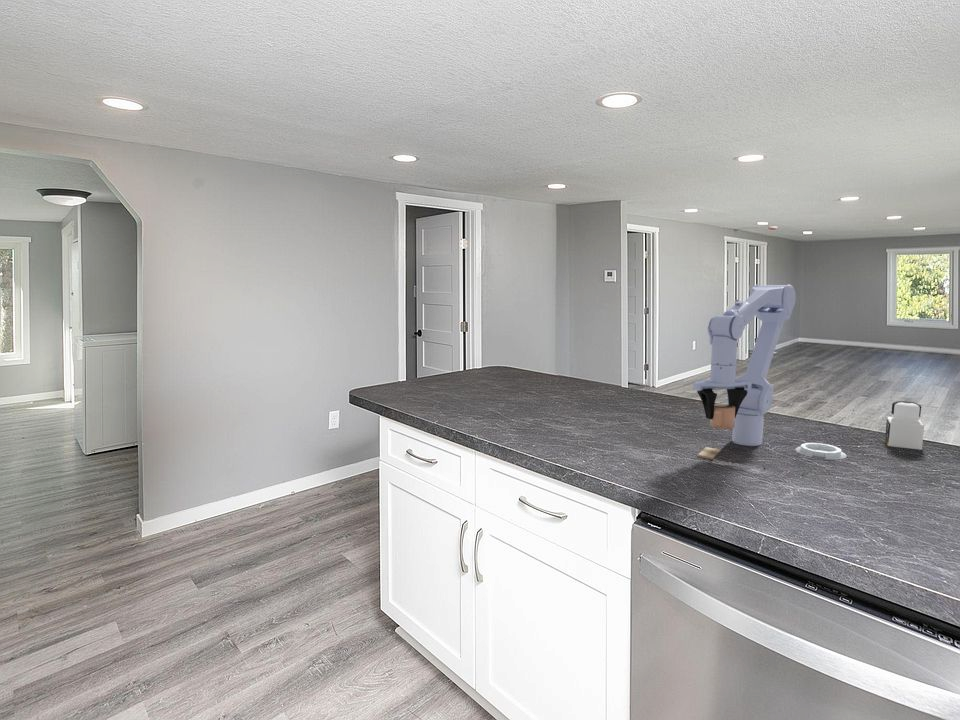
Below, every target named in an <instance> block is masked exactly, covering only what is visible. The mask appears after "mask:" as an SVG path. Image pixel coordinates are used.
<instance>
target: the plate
mask: <svg viewBox="0 0 960 720" xmlns="http://www.w3.org/2000/svg"><path fill="white" fill-rule="evenodd" d="M795 451H796V453H799V454H800V455H802V456H807V457H810V458H814V459H815V458H816V459H821V460H842V459H846V458H847V454H846V453H845V452H843V451H842V449H841V448H840V447H837V446H835V445H832V444H828V443H821V442H805V443H802V444H800V446H797V447H796V448H795Z"/></svg>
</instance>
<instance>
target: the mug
mask: <svg viewBox="0 0 960 720" xmlns="http://www.w3.org/2000/svg"><path fill="white" fill-rule="evenodd" d="M734 424H735V406H733V405H728V403H727V404H726V403H715V404H714V416H713V419H709V426H710V427H711V428H715V429H721V430H722V429H723V430H730V429H732V430H733V428H734Z"/></svg>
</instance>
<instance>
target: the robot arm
mask: <svg viewBox="0 0 960 720" xmlns="http://www.w3.org/2000/svg"><path fill="white" fill-rule="evenodd" d="M796 297H797V296H796V290H795V288H794V286H793V285H792V284H779V285H778V284H774V285H773V284H761V285H760V284H755V285H754V286H753V287H751V288H750V293H749V296H748V297H747V298H746V299H745V300H744V301H739V300H738V301H736V302H734V304H733V305H732V306H731V307H730V308H728V309H727V310H726V311H724V312H723V313H722V314H717V315H715V316H713V317H711V318H710V320H709V322H708V326H707V332H708V336H709V343H710V345H711V361H710V379H708V380H699V381H693V386H692V390H693V391H696V392H697V394H698V396H699V398H700V401H701V403H702V405H703V409H704V414H705V418H706V419H709V420H710V419H713V416H714V404H716V399H717V398H718V397H717V396H718V393H717V392H714V390H726V392H727V394H726V403H727V404H728V405H733V406H735V424H734V428H732V435H731V437H732V438H731V442H733V444H737V445H741V446H749V447H755V446H761V445H762V443H763V438H764V437H763V435H764V433H763V432H764V420H765V419H764V414H765V415H766V414H767V413H768V412H769V411H770V410H771V408H772V405H773V396H774V392H775V391H774V387H773V385H772V384H771V383H770V382H769V381H768V380H767V379H766V378H767V376H768V372H769V370H770V367H771V362H772V360H773V357H774V353H775V350H776V347H777V345H778V341H779V339H780V336H781V335H780V334H781V331H782V328H783V325H784V322H785V321H788V320H790V318H791V316H792V313H793V310H794V308H795V304H796ZM754 318H757V319H759V320H760V321H761V326H760V328H759V331H758V334H757V337H756V340H755V344H754V347H753V350H752V352H751V355H750V359H749V362H748V365H747V368H746V371H745V373H744V374H743V375H740V376H739V377H736V376H737V358H738V343H739V342H738V340H739V339H741V337H742V335H743V332H744V330H745V328H746V326H747V325H748V324H750V323H751V322H752V321H753V320H754Z"/></svg>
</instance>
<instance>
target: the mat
mask: <svg viewBox="0 0 960 720" xmlns="http://www.w3.org/2000/svg"><path fill="white" fill-rule="evenodd" d="M721 450H722V448H721V449H720V448H716V447H715V448H714V447H713V448H712V447H708V446H705V448H703V449H702V450H701V451H700V452H699V453H698V454H697V458H703V459H707V460H708V459H709V460H716V461H719V459H717V458H715V457H716V456H717V455H718V454H719V453H720V452H721ZM721 461H722V462H725V460H724V459H723V460H722V459H720V462H721ZM726 462H727V463H731V461H729V460H726Z"/></svg>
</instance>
